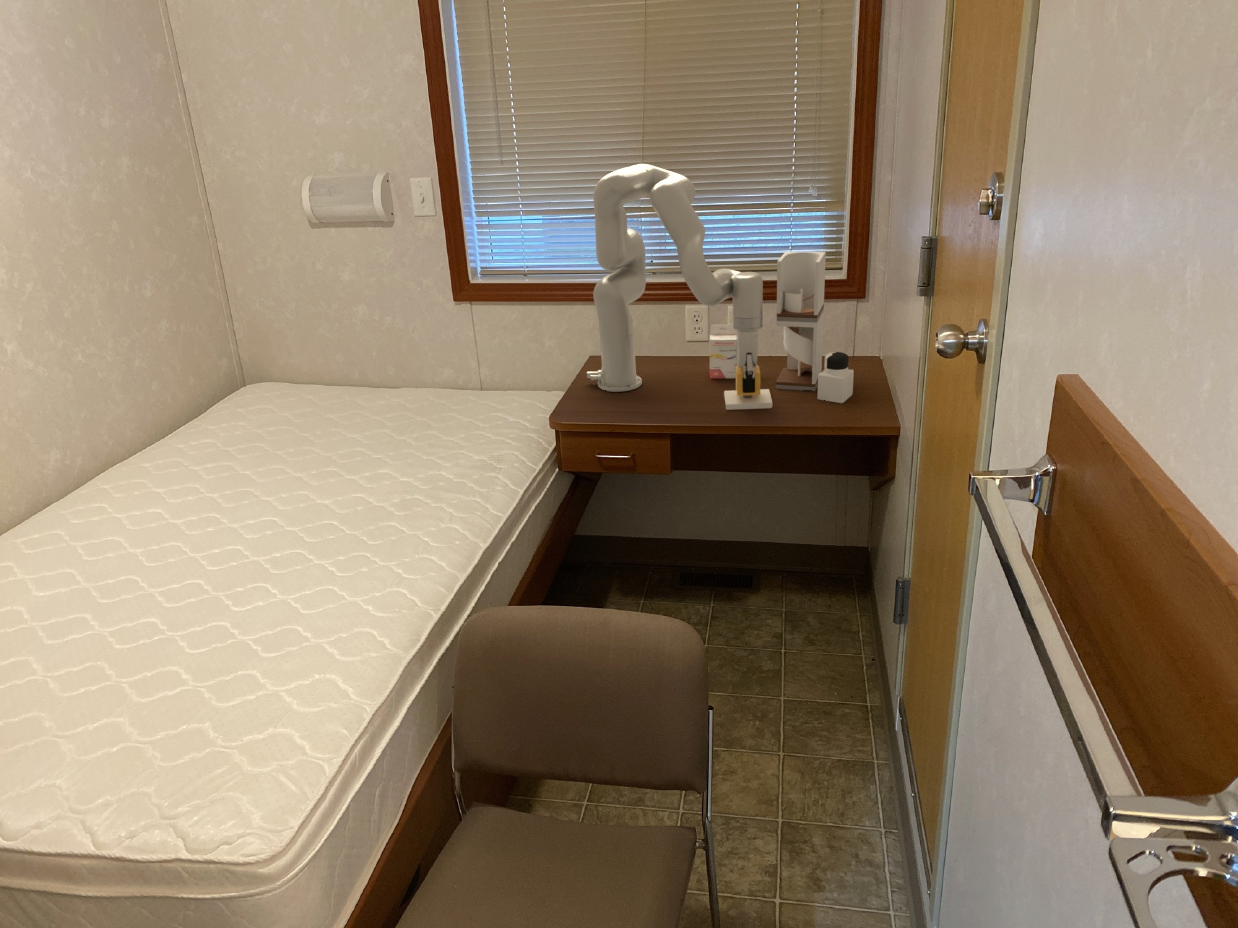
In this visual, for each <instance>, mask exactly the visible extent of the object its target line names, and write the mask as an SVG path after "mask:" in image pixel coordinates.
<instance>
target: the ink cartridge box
mask: <svg viewBox="0 0 1238 928" xmlns="http://www.w3.org/2000/svg"><path fill="white" fill-rule="evenodd" d="M709 326H710V327H709V329H710V334H709V379H736V366H738V365H737V360H736V335H737V330H735V329H733V323H726V324H723V323H722V324H720V323H719V324H710V325H709ZM723 328H725V329H723ZM721 329H723V330H721ZM726 329H727V330H726ZM728 329H729V330H728Z"/></svg>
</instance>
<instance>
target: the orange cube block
mask: <svg viewBox="0 0 1238 928" xmlns="http://www.w3.org/2000/svg"><path fill="white" fill-rule="evenodd" d="M745 367H747V366H745ZM746 371H747V369H746ZM754 377H755V392H754V393H743V379H742V378H744V375H743V367H741V368H739V367H738V366H736V378H735V390H736V391H737V396H740V395H760V389H761V370H760V366H759V365H758V364H757V366H756V367H754Z"/></svg>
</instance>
